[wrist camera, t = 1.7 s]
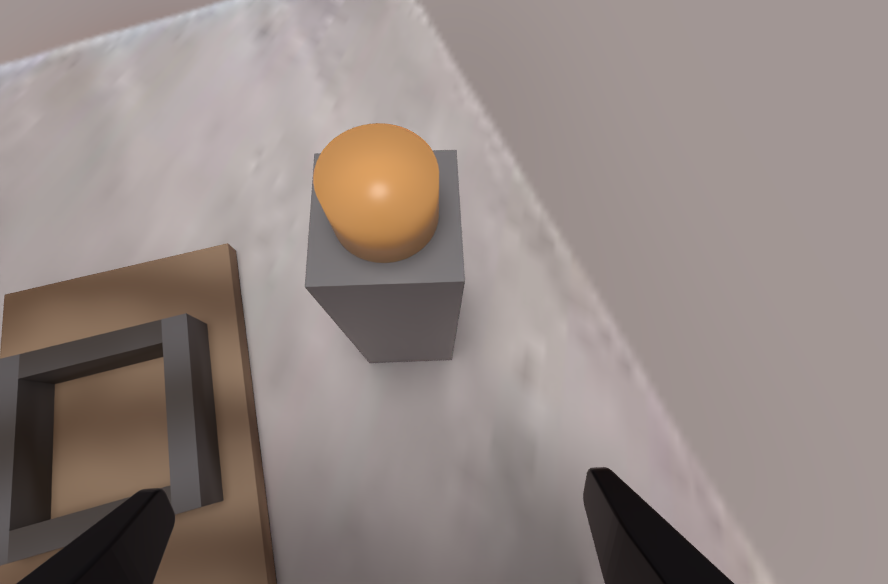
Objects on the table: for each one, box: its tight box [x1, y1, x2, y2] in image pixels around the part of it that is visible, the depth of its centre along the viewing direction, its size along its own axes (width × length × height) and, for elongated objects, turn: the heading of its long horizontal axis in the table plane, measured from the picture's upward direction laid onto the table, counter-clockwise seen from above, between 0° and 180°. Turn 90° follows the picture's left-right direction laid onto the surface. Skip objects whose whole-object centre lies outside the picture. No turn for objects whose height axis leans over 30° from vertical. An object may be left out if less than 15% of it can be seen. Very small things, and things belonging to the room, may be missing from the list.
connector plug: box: [305, 123, 465, 363], centre depth 17 cm, size 4×4×14 cm
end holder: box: [0, 244, 277, 584], centre depth 20 cm, size 18×12×3 cm, turn 15°
